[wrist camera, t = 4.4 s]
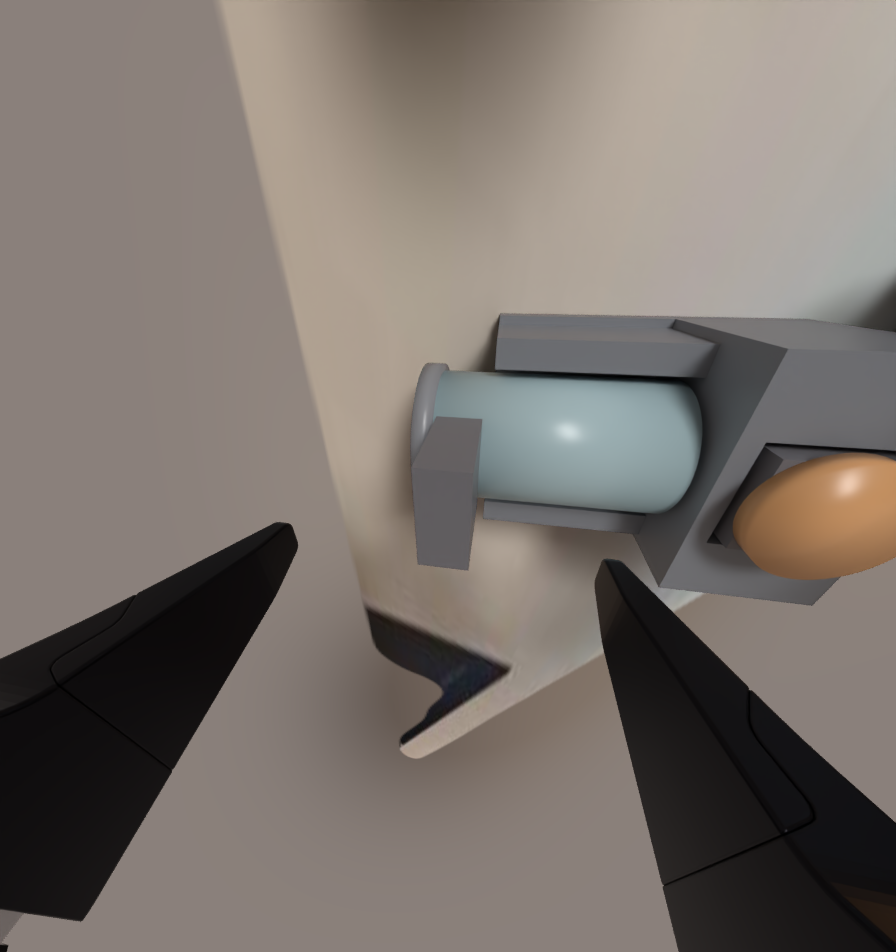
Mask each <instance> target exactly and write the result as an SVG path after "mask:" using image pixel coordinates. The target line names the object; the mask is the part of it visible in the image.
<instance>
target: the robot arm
mask: <svg viewBox="0 0 896 952" xmlns="http://www.w3.org/2000/svg"><path fill="white" fill-rule="evenodd" d="M297 549H298V542H297V539H296V536H295V533H294V530H293V527H292V525H291V524H289V523H282V522H276V523H274V524H272V525H270V526H268V527H266V528H264V529H262V530H260V531H258V532H256V533H254V534H252V535H250V536H248V537H246V538H244V539H242V540H240V541H238V542H236V543H235V544H233V545H231V546H229V547H227V548H225V549H223V550H221V551H219V552H217V553H215V554H213V555H211V556H209V557H207V558H205V559H203V560H202V561H199V562H197V563H196V564H194V565H192V566H190V567H188V568H186V569H184V570H182V571H180V572H178V573H176V574H174V575H172V576H170V577H168V578H166V579H164V580H162V581H160V582H158V583H157V584H155V585H153V586H151V587H149V588H147V589H145V590H143V591H141V592H139V593H138V594H137V595H133V596H131V597H129V598H127V599H125V600H123V601H121V602H120V603H118V604H116V605H114V606H112V607H110V608H108V609H106V610H104V611H102V612H99V613H98V614H95V615H94V616H92V617H89V618H87V619H85V620H83V621H81V622H79V623H77V624H75V625H72V626H70V627H68V628H66V629H64V630H62V631H60V632H58V633H55V634H53V635H51V636H49V637H47V638H45V639H43V640H40V641H38V642H36V643H34V644H32V645H30V646H27V647H25V648H23V649H21V650H19V651H16V652H14V653H12V654H10V655H8V656H5V657H3V658H1V659H0V952H7V948H8V945H6V944H3V943H2V941H3V940H4V939H5V937H6V936H7V935H8V933H9V932H10V931H11V929H12V928H13V927H14V925H15V924H16V923H17V922H18V920H19V919H20V918H21V916H22V915H23V914H24V913H27V914H34V915H41V916H47V917H53V918H61V919H67V920H73V921H80V922H81V921H83V919H84V918H85V916H86V915H87V914H88V912H89V911H90V909H91V907H92V906H93V904H94V903H95V901H96V899H97V898H98V896H99V894H100V893H101V891H102V889H103V888H104V886H105V884H106V883H107V881H108V879H109V878H110V876H111V874H112V872H113V871H114V869H115V867H116V866H117V864H118V862H119V861H120V859H121V857H122V856H123V854H124V852H125V850H126V849H127V847H128V845H129V844H130V842H131V840H132V838H133V837H134V835H135V833H136V832H137V830H138V828H139V827H140V825H141V823H142V821H143V820H144V818H145V817H146V815H147V813H148V812H149V810H150V808H151V807H152V805H153V803H154V801H155V800H156V798H157V796H158V795H159V793H160V791H161V790H162V788H163V786H164V785H165V783H166V781H167V779H168V778H169V776H170V774H171V773H172V769H174V767H175V766H176V764H177V762H178V761H179V759H180V757H181V755H182V754H183V752H184V750H185V748H186V747H187V745H188V744H189V742H190V740H191V739H192V737H193V735H194V733H195V732H196V730H197V728H198V727H199V725H200V723H201V722H202V720H203V718H204V717H205V715H206V713H207V712H208V710H209V708H210V707H211V705H212V703H213V701H214V700H215V698H216V696H217V695H218V693H219V691H220V690H221V688H222V686H223V684H224V683H225V681H226V679H227V678H228V676H229V674H230V672H231V671H232V669H233V668H234V666H235V664H236V663H237V661H238V659H239V657H240V656H241V654H242V652H243V651H244V649H245V647H246V646H247V644H248V642H249V641H250V639H251V637H252V636H253V634H254V632H255V631H256V629H257V627H258V625H259V624H260V622H261V620H262V619H263V617H264V615H265V613H266V612H267V610H268V609H269V607H270V605H271V603H272V602H273V600H274V598H275V596H276V594H277V592H278V590H279V588H280V586H281V584H282V582H283V579H284V578H285V576H286V573H287V571H288V569H289V567H290V564H291V563H292V560H293V558H294V556H295V554H296V552H297ZM595 594H596V601H597V609H598V616H599V624H600V632H601V638H602V644H603V649H604V653H605V657H606V661H607V665H608V669H609V673H610V677H611V681H612V685H613V689H614V693H615V697H616V701H617V705H618V709H619V713H620V717H621V721H622V726H623V729H624V734H625V738H626V742H627V745H628V749H629V754H630V758H631V761H632V766H633V770H634V774H635V777H636V782H637V786H638V790H639V793H640V798H641V802H642V806H643V809H644V814H645V817H646V821H647V826H648V829H649V833H650V837H651V842H652V845H653V849H654V854H655V858H656V861H657V866H658V870H659V874H660V878H661V882H662V884H663V885H664V886H663V891H664V895H665V899H666V903H667V907H668V911H669V915H670V919H671V923H672V927H673V931H674V935H675V938H676V943H677V947H678V951H679V952H896V823H895V822H894V821H893V820H892V819H891V818H890V817H889V816H888V815H886V814H885V813H884V812H883V811H882V810H881V809H880V808H879V807H877V806H876V805H875V804H874V803H873V802H872V801H871V800H869V799H868V798H867V797H866V796H865V795H864V794H863V793H862V792H860V791H859V790H858V789H857V788H856V787H855V786H854V785H853V784H851V783H850V782H849V781H848V780H847V779H846V778H845V777H843V776H842V775H841V774H840V773H839V772H838V771H837V770H836V769H835V768H834V767H833V766H831V765H830V764H829V763H828V762H827V761H826V760H825V759H824V758H823V757H822V756H820V755H819V754H818V753H817V752H816V751H815V750H813V748H812V747H811V746H809V745H808V744H807V743H806V742H805V741H804V740H803V739H802V738H801V737H800V736H799V735H798V734H797V733H796V732H794V731H793V730H792V729H791V728H790V727H789V726H788V725H787V724H786V723H785V722H784V721H783V720H782V719H781V718H780V717H779V716H778V715H777V714H776V713H775V712H773V710H772V709H771V708H770V707H768V706H767V705H766V704H765V703H764V702H763V701H762V700H761V699H760V698H759V697H758V696H757V695H756V694H755V693H754V692H753V691H752V690H749V688H748V686H747V685H746V684H745V683H744V682H743V681H742V680H741V679H740V678H739V677H738V676H737V675H736V674H735V673H734V672H733V671H732V670H731V669H730V668H729V667H728V666H727V665H726V664H725V663H724V662H723V661H722V660H721V659H720V658H719V657H718V656H717V655H716V654H715V653H714V652H713V651H712V650H711V649H710V648H709V647H708V646H707V645H706V644H704V643H703V642H702V641H701V640H700V639H699V638H698V637H697V636H696V635H695V634H694V633H693V632H692V631H691V630H690V629H689V628H688V627H687V626H686V625H685V624H684V623H683V622H682V621H681V620H680V619H679V618H678V617H677V616H676V615H675V614H674V613H673V612H672V611H671V610H670V609H669V608H668V607H667V606H666V605H665V604H664V603H663V602H662V601H661V600H660V599H659V598H658V597H657V596H656V595H655V594H654V593H653V592H652V591H651V590H650V589H649V588H648V587H647V586H646V585H645V584H644V583H643V582H642V581H641V580H640V579H639V578H638V577H637V576H636V575H635V574H634V573H633V572H632V571H631V570H630V569H629V568H628V567H627V566H626V565H625V564H624V563H622V562H621V561H619V560H613V559H604V560H603V561H602V562H601V565H600V567H599V570H598V573H597V576H596V578H595Z"/></svg>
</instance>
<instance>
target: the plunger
mask: <svg viewBox="0 0 896 952" xmlns="http://www.w3.org/2000/svg"><path fill="white" fill-rule="evenodd" d="M713 533H714V534H715V535H716V536H717V538H718V539H719V540H720V541H721V543H722V544H723V545H724V547H725V548H727V549H736V550H743V551H744V552H745V553H746V554H747V555H748V556H749V558H750V559H751V560H752V561H753V562H754V563H755V564H756V565H757V566H758V567H759V568H761V569H762V570H764V571H766V572H768V573H770V574H773V575H775V576H779V577H783V578H789V579H798V580H818V579H829V578H836V577H841V576H846V575H850V574H854V573H858V572H861V571H864V570H867V569H870V568H873V567H875V566H878V565H880V564H882V563H884V562H887V561H889V560H891V559H893V558H895V557H896V454H894V453H892V452H890V451H888V450H879V449H863V448H847V447H831V446H815V445H799V444H784V443H768V442H766V444H765V445H764V447H763V449H762V450H761V452H760V454H759V455H758V457H757V459H756V460H755V462H754V464H753V465H752V467H751V469H750V470H749V472H748V474H747V475H746V477H745V479H744V480H743V482H742V484H741V485H740V487H739V489H738V491H737V492H736V494H735V496H734V497H733V499H732V501H731V502H730V504H729V506H728V507H727V509H726V511H725V512H724V514H723V516H722V517H721V519H720V521H719V522H718V524H717V526H716V527H715V529H714V531H713Z"/></svg>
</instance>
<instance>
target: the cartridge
mask: <svg viewBox="0 0 896 952" xmlns="http://www.w3.org/2000/svg"><path fill="white" fill-rule="evenodd" d="M701 445H702V416H701V410H700V406H699V403H698V400H697V397H696V395H695V394H694V392H693V390H692V389H691V388H690V387H689V386H688V385H687V384H686V383H684V382H682V381H679V380H665V379H641V378H617V377H593V376H569V375H545V374H521V373H498V372H474V371H450V370H449V367H448V365H447V364H444V363H427V364H425V366H424V367H423V369H422V371H421V374H420V376H419V380H418V383H417V388H416V392H415V398H414V404H413V412H412V423H411V445H410V448H411V474H412V488H413V503H414V517H415V531H416V545H417V559H418V564H419V565H427V566H435V567H443V568H451V569H460V570H468V569H469V561H470V553H471V546H472V538H473V530H474V522H475V515H476V507H477V497H479V498H490V499H500V500H511V501H522V502H533V503H543V504H554V505H565V506H576V507H587V508H597V509H608V510H619V511H630V512H640V513H651V514H661V513H664V512H666V511H668V510H670V509H671V508H673V507H674V506H675V505H676V504H677V503H678V502H679V501H680V500H681V498H682V497H683V495H684V494H685V493H686V491H687V489H688V487H689V486H690V484H691V481H692V479H693V477H694V474H695V471H696V468H697V465H698V461H699V457H700V452H701Z"/></svg>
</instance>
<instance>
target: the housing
mask: <svg viewBox="0 0 896 952" xmlns="http://www.w3.org/2000/svg"><path fill="white" fill-rule="evenodd" d="M495 369H496V371H495V372H498V373H521V374H545V375H569V376H593V377H617V378H641V379H665V380H679V381H682V382H684V383H686V384H687V385H688V386H689V387H690V388H691V389H692V390H693V392H694V394H695V395H696V397H697V400H698V403H699V406H700V410H701V416H702V445H701V452H700V457H699V461H698V465H697V468H696V471H695V474H694V477H693V479H692V481H691V484H690V486H689V487H688V489H687V491H686V493H685V494H684V495H683V497H682V498H681V500H680V501H679V502H678V503H677V504H676V505H675V506H674V507H673V508H671V509H670V510H668V511H666V512H664V513H661V514H651V513H640V512H630V511H619V510H608V509H597V508H587V507H576V506H565V505H554V504H543V503H533V502H522V501H511V500H500V499H490V498H485V500H484V513H483V519H492V520H501V521H511V522H521V523H531V524H541V525H551V526H561V527H571V528H581V529H590V530H600V531H610V532H620V533H630V534H633V535H634V537H635V539H636V541H637V543H638V545H639V547H640V549H641V551H642V554H643V556H644V558H645V560H646V562H647V564H648V566H649V568H650V570H651V572H652V574H653V576H654V578H655V580H656V582H657V584H658V586H659V587H662V588H670V589H678V590H686V591H695V592H703V593H711V594H720V595H728V596H736V597H745V598H753V599H762V600H770V601H778V602H786V603H795V604H803V605H811V606H812V605H813V604H814V603H815V602H816V601H817V600H818V599H819V598H820V597H821V596H822V595H823V594H824V593H825V592H826V591H827V590H828V589H829V588H830V587H831V586H832V585H833V584H834V583H835V582H836V581H837V580H838V579H839V578H840V577H836V578H829V579H818V580H798V579H789V578H783V577H779V576H775V575H773V574H770V573H768V572H766V571H764V570H762V569H761V568H759V567H758V566H757V565H756V564H755V563H754V562H753V561H752V560H751V559H750V558H749V556H748V555H747V554H746V553H745V552H744V551H743V550H736V549H727V548H725V547H724V545H723V544H722V543H721V541H720V540H719V539H718V538H717V536H716V535H715V534H714V533H713V531H714V529H715V527H716V526H717V524H718V522H719V521H720V519H721V517H722V516H723V514H724V512H725V511H726V509H727V507H728V506H729V504H730V502H731V501H732V499H733V497H734V496H735V494H736V492H737V491H738V489H739V487H740V485H741V484H742V482H743V480H744V479H745V477H746V475H747V474H748V472H749V470H750V469H751V467H752V465H753V464H754V462H755V460H756V459H757V457H758V455H759V454H760V452H761V450H762V449H763V447H764V445H765V444H766V442H768V443H784V444H799V445H815V446H831V447H847V448H863V449H879V450H888V451H890V452H892V453H894V454H896V332H890V331H883V330H877V329H870V328H863V327H857V326H850V325H843V324H837V323H830V322H823V321H817V320H810V319H778V318H723V317H668V316H613V315H558V314H503V313H500V322H499V330H498V337H497V348H496V361H495Z"/></svg>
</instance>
